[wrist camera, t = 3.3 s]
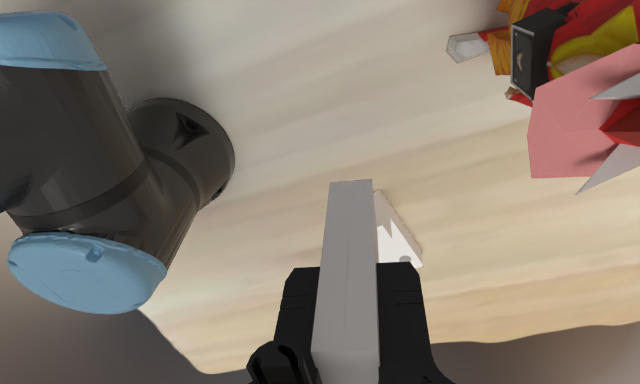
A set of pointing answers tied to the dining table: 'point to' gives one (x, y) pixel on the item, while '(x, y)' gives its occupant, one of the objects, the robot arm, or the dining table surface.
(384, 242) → the bracket
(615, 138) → the toy
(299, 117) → the dining table surface
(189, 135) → the robot arm
